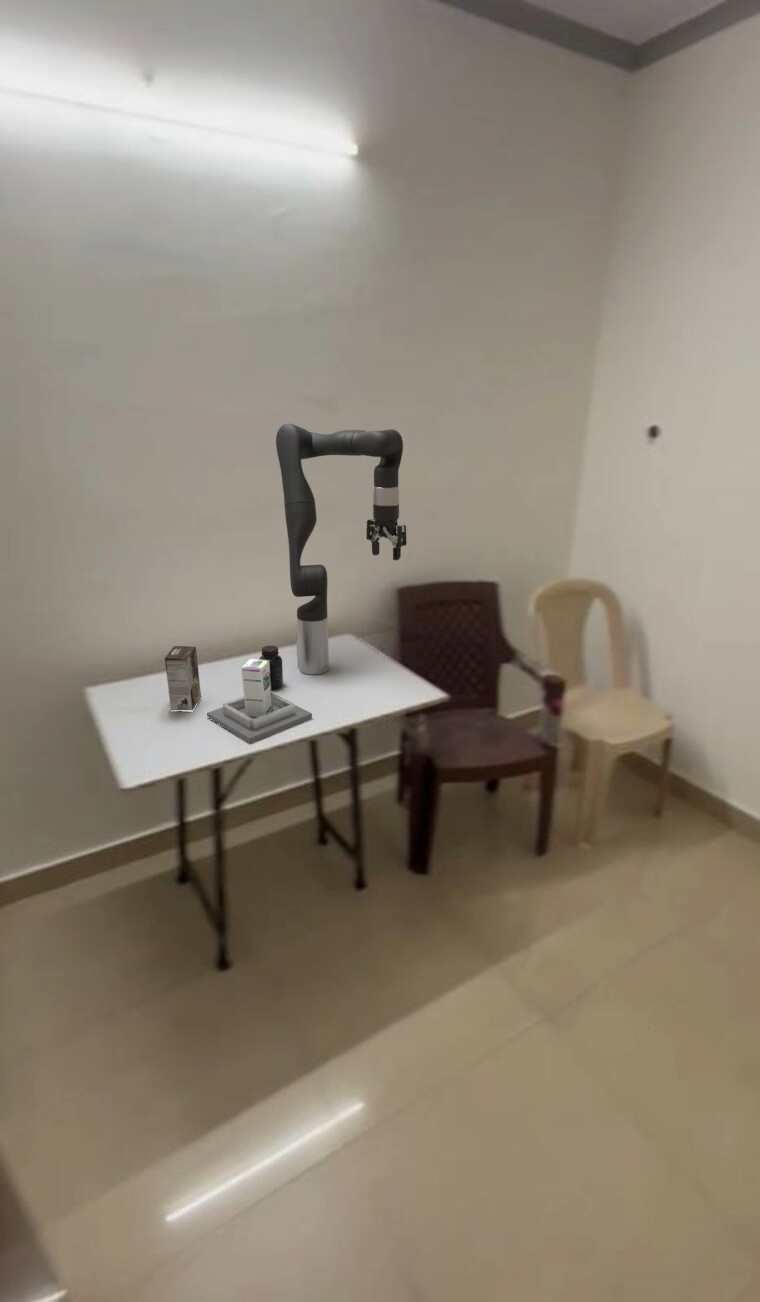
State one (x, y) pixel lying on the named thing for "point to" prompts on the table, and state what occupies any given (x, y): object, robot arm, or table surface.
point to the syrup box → (257, 687)
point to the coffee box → (183, 678)
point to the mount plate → (264, 731)
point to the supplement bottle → (273, 665)
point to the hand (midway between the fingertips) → (386, 557)
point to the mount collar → (263, 720)
